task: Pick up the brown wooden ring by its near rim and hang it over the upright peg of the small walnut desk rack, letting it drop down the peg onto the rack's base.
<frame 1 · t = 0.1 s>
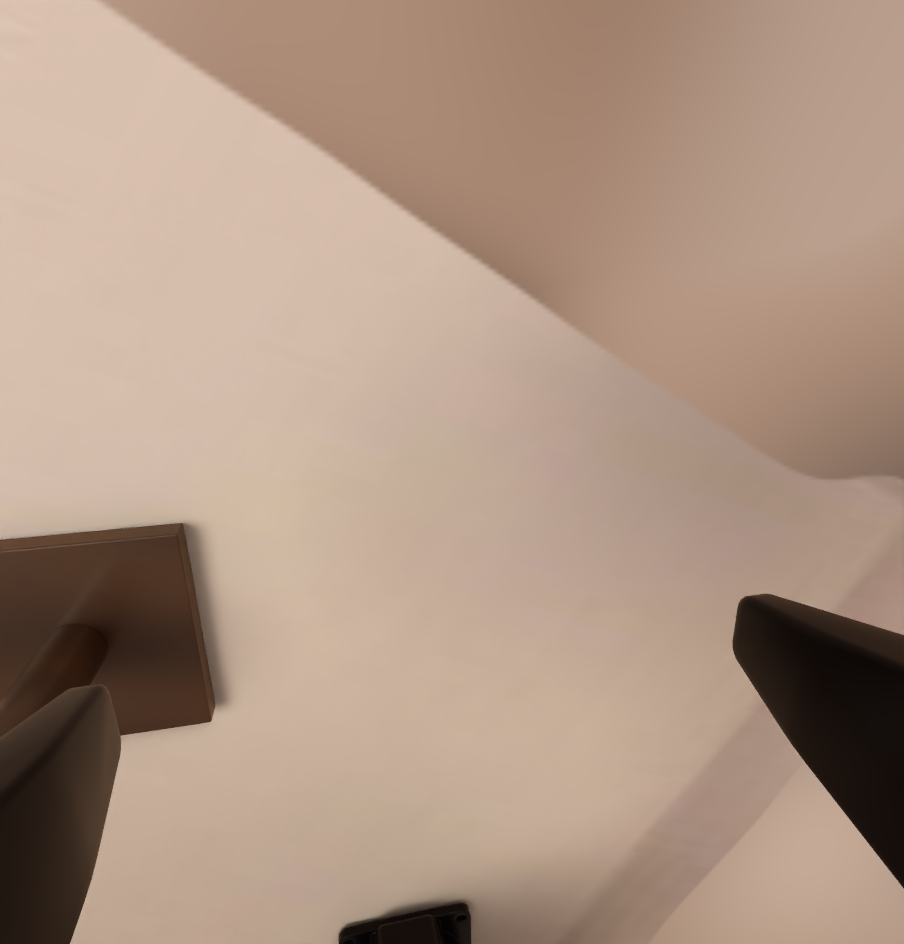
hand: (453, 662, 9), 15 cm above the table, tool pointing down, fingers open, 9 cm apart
rack: (86, 632, 23), on the table
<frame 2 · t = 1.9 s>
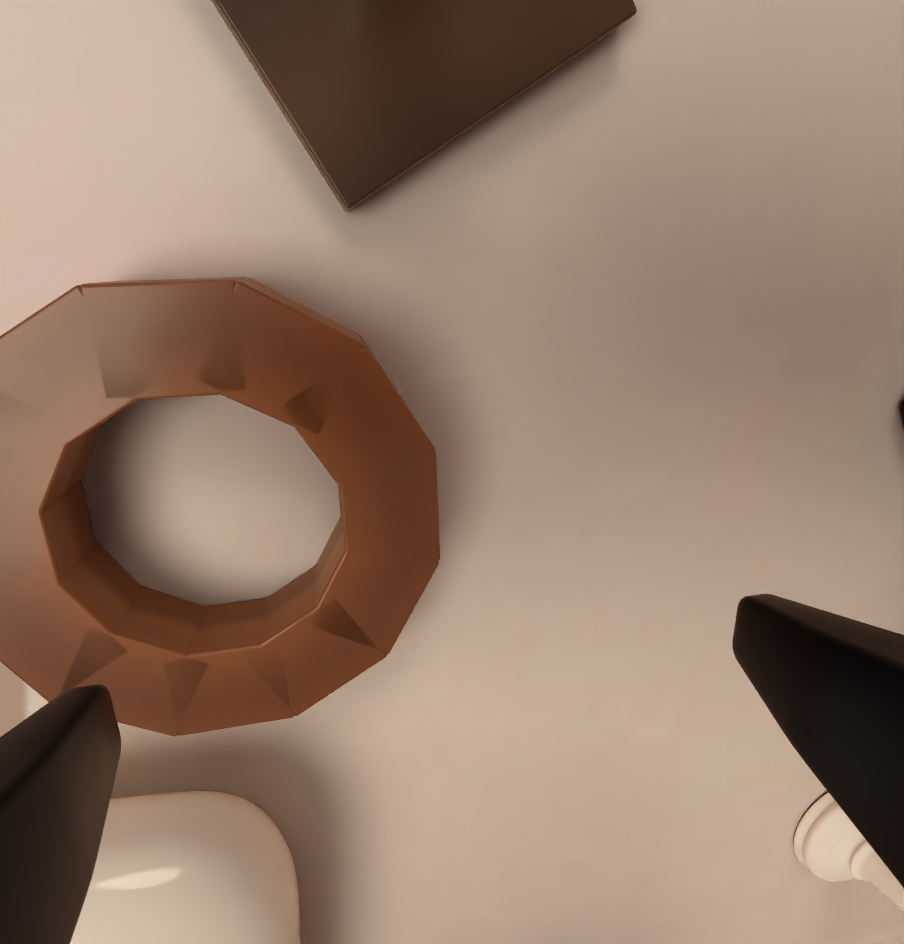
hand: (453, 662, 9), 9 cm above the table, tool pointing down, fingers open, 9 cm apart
chess piece: (839, 820, 27), on the table
earbud case: (146, 903, 20), on the table
ring: (218, 497, 16), on the table
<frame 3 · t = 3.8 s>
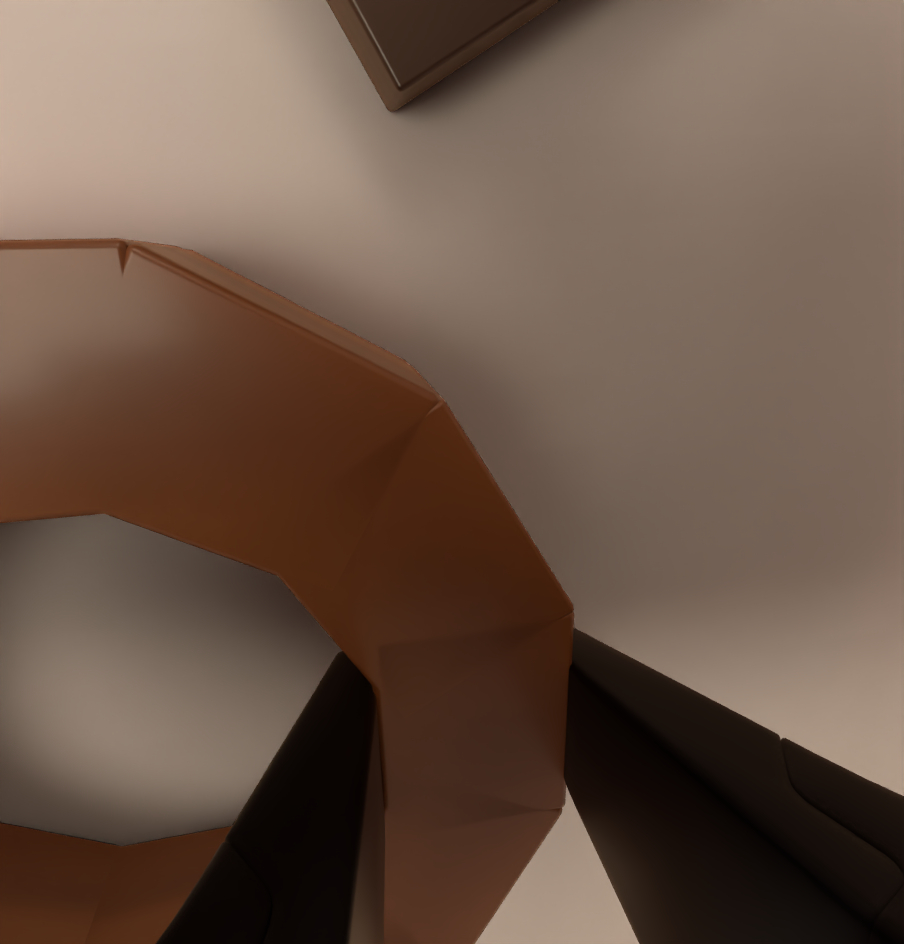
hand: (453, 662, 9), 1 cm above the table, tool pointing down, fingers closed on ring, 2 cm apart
ring: (139, 664, 9), on the table, touching gripper
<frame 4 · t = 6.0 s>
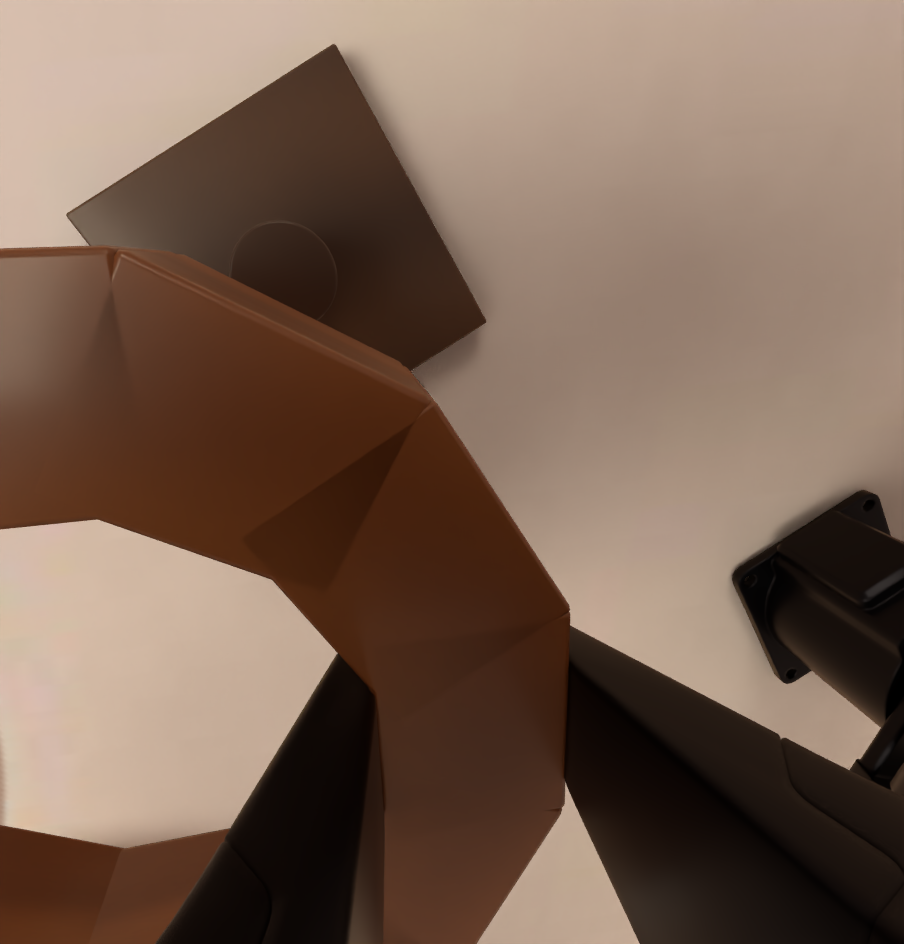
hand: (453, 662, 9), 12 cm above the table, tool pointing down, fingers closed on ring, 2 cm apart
rack: (296, 272, 18), on the table
ring: (139, 668, 9), point 11 cm above the table, touching gripper
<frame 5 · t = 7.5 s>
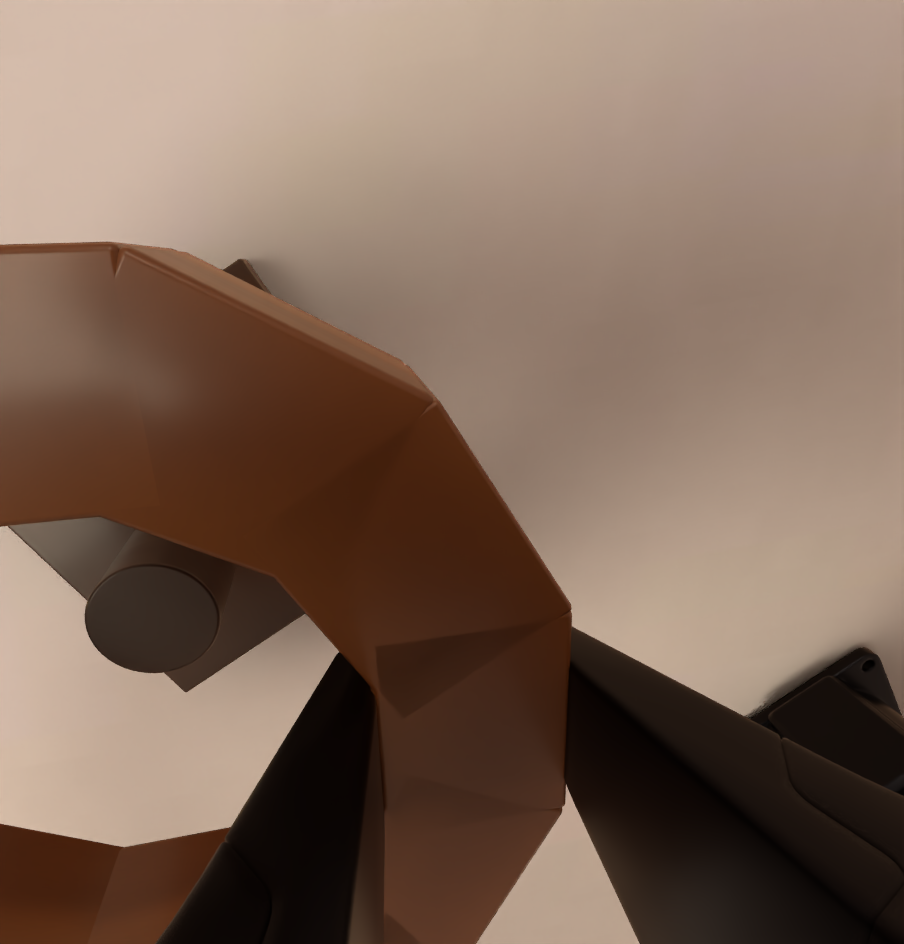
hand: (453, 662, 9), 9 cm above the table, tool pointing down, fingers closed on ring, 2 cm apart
rack: (216, 484, 16), on the table
ring: (139, 666, 9), point 8 cm above the table, touching gripper
when the fingers open (5 cm above the table, at t = 8.8 s): ring drops 3 cm, resting on rack.
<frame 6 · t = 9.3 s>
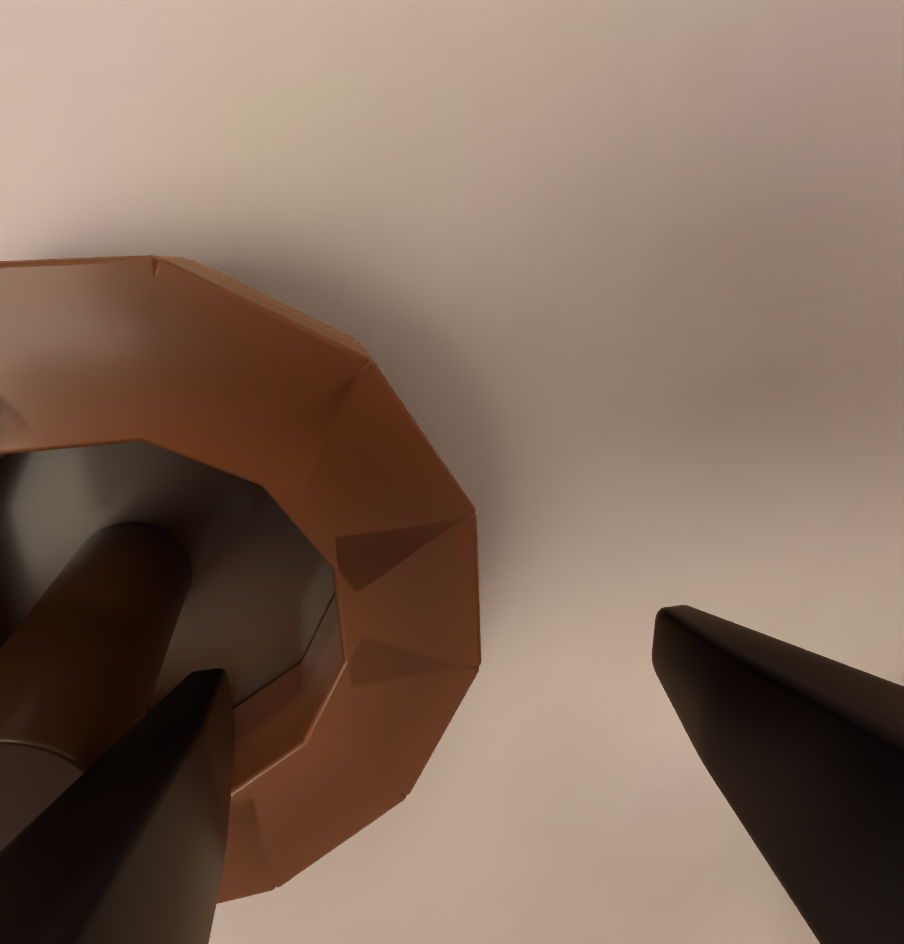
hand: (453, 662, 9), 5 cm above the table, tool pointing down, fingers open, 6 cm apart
rack: (146, 549, 12), on the table
ring: (158, 576, 11), point 1 cm above the table, touching rack
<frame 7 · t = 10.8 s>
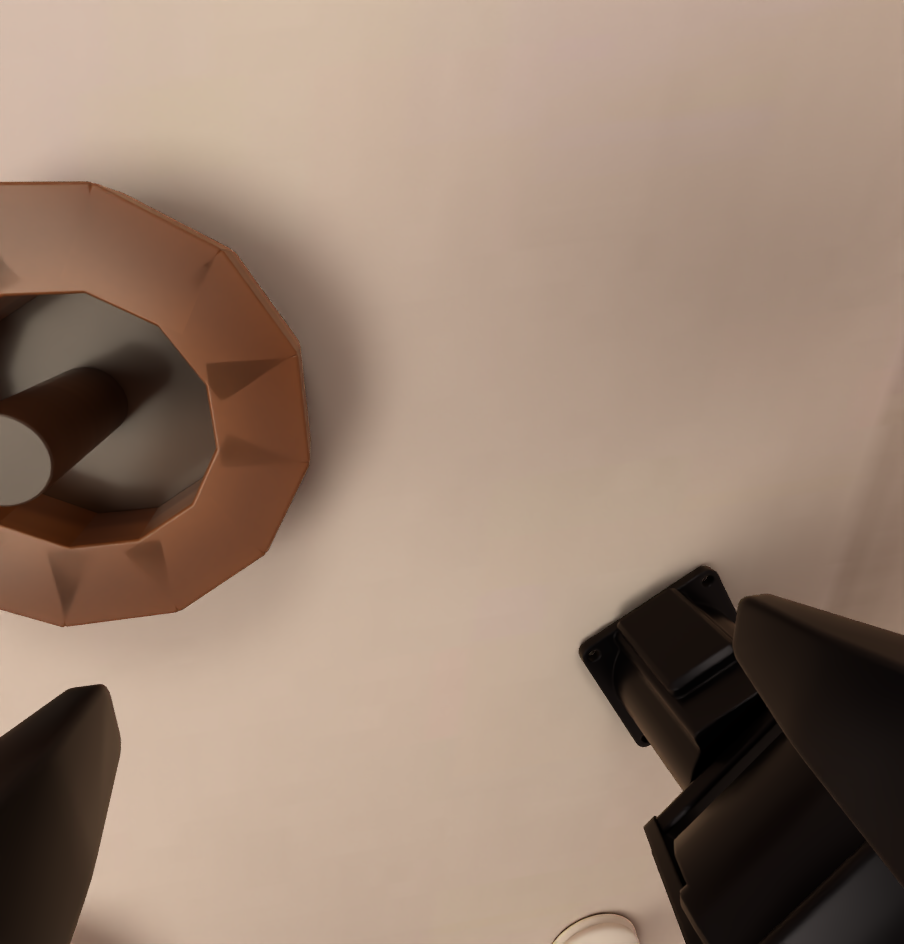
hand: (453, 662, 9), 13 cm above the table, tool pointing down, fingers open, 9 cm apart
chess piece: (589, 943, 32), on the table
rack: (100, 395, 18), on the table
ring: (105, 406, 18), point 1 cm above the table, touching rack
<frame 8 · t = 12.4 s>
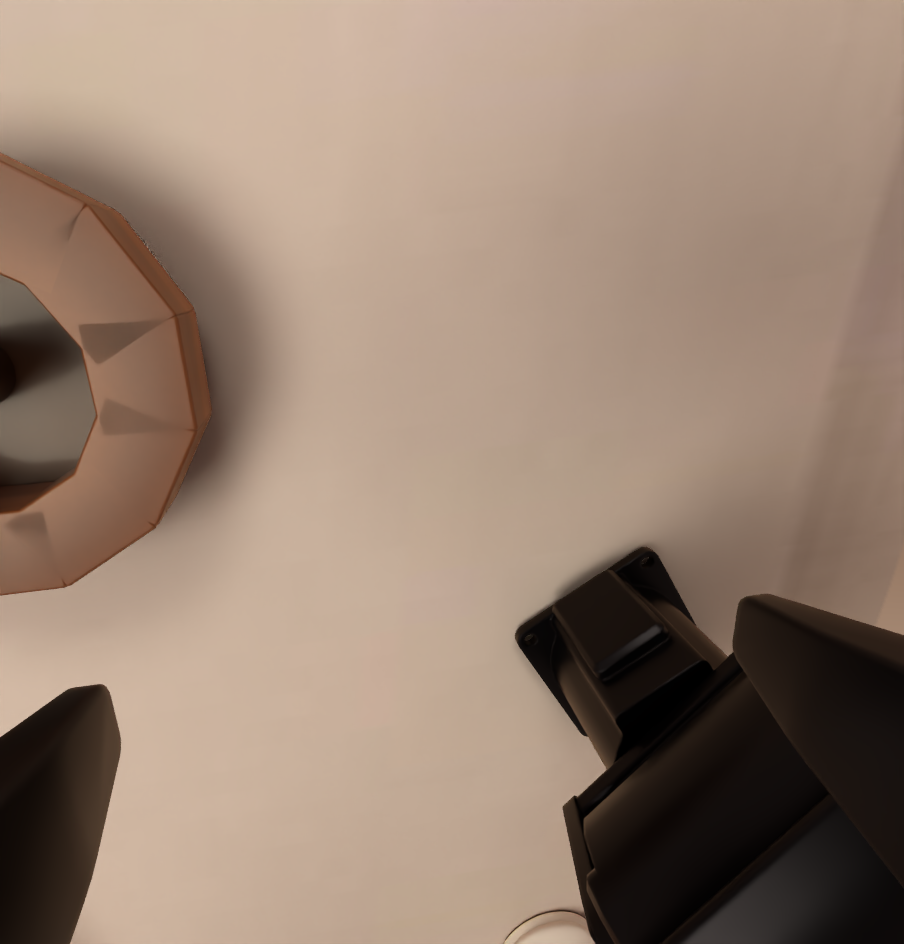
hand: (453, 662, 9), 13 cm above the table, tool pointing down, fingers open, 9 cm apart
chess piece: (544, 942, 31), on the table
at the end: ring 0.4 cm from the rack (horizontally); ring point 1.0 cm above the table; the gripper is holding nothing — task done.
